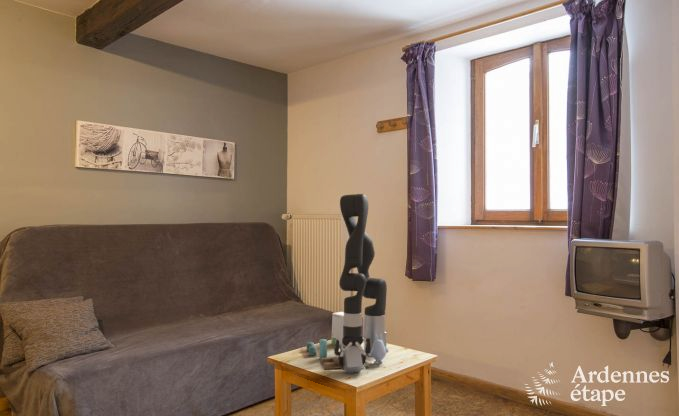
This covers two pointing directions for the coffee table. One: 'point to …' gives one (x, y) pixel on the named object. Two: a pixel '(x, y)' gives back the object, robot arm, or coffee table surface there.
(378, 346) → the toy figure
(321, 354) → the pin
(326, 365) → the board
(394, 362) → the coffee table surface
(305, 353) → the board
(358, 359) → the white rectangular block
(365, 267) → the robot arm
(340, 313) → the skincare box
